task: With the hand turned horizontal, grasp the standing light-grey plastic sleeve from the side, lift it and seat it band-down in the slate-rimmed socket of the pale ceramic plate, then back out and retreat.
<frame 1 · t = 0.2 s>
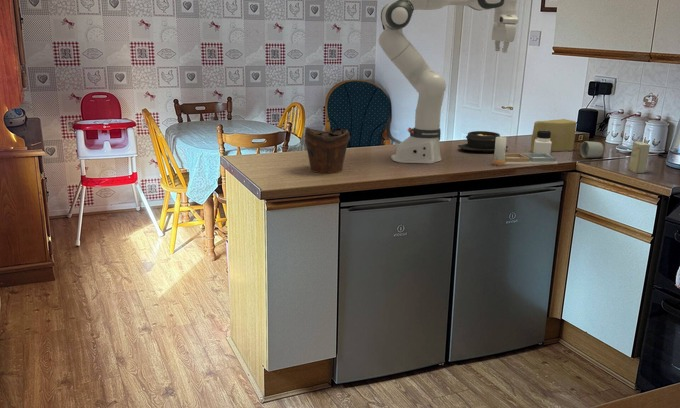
hand: (500, 51, 267), 48 cm above the countertop, tool pointing down, fingers open, 8 cm apart
medicine bottle: (541, 156, 289), on the countertop
seat plate: (525, 160, 277), on the countertop
skincare box: (637, 171, 260), on the countertop
cheese: (549, 151, 301), on the countertop
casserole: (482, 150, 300), on the countertop
ceramic mug: (589, 157, 288), on the countertop
wooden bucket: (327, 170, 255), on the countertop
sleeve: (498, 164, 269), on the countertop
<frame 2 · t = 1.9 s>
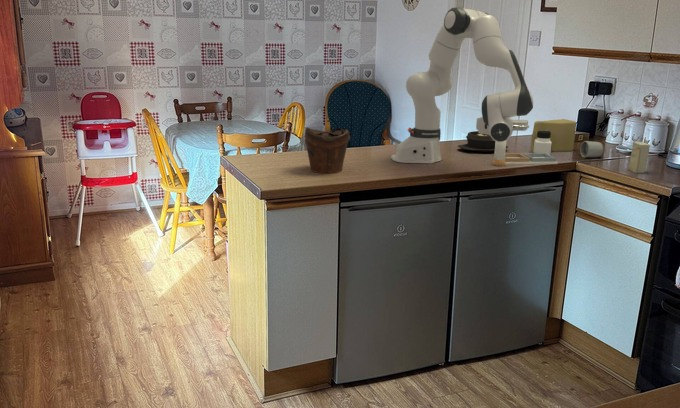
hand: (502, 121, 252), 21 cm above the countertop, tool horizontal, fingers open, 8 cm apart
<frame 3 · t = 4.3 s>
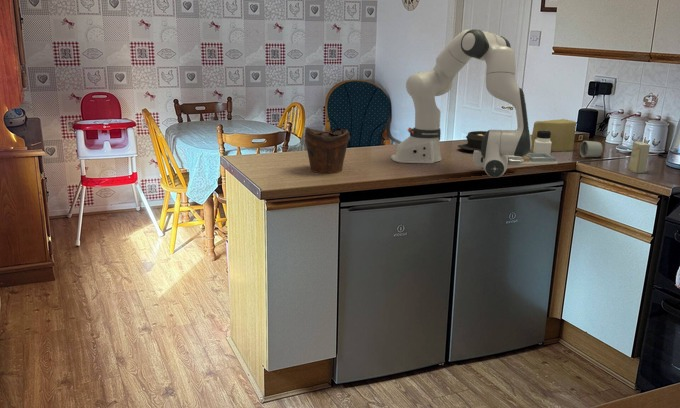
hand: (498, 153, 260), 6 cm above the countertop, tool horizontal, fingers open, 8 cm apart
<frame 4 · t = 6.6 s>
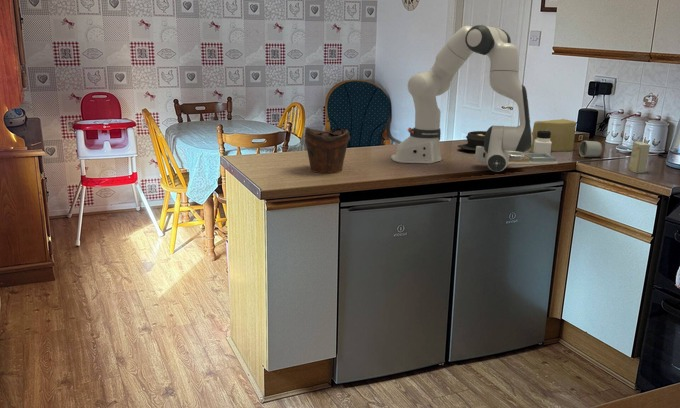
hand: (500, 149, 268), 7 cm above the countertop, tool horizontal, fingers closed on sleeve, 5 cm apart
sleeve: (498, 164, 269), on the countertop, touching gripper
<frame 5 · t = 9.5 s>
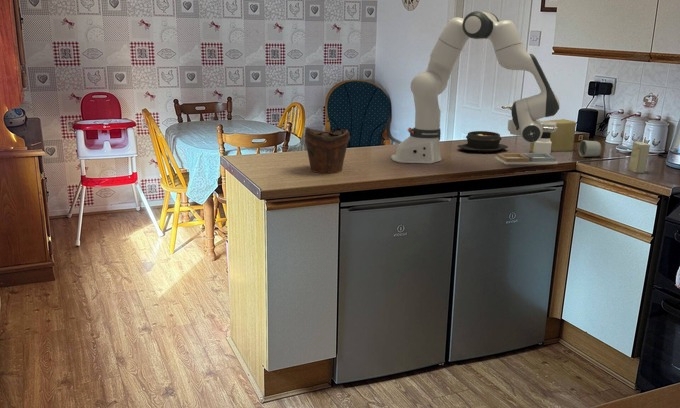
hand: (532, 123, 271), 17 cm above the countertop, tool horizontal, fingers closed on sleeve, 5 cm apart
sleeve: (530, 138, 271), point 11 cm above the countertop, touching gripper
when the fingers open (8 cm above the countertop, at t = 12.5 s): sleeve stays where it is, resting on seat plate.
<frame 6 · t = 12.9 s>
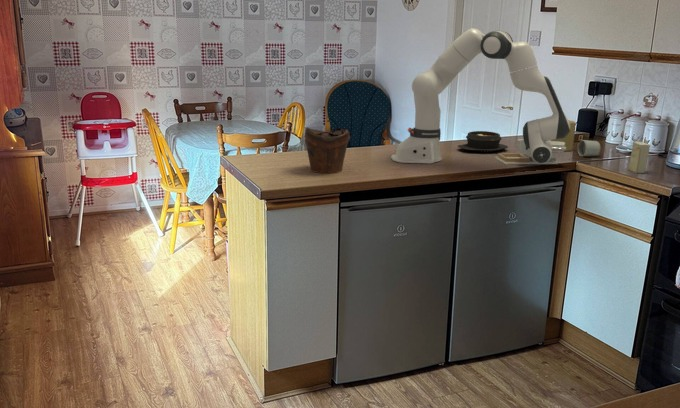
hand: (540, 142, 276), 8 cm above the countertop, tool horizontal, fingers open, 8 cm apart
sleeve: (538, 159, 277), point 1 cm above the countertop, touching seat plate
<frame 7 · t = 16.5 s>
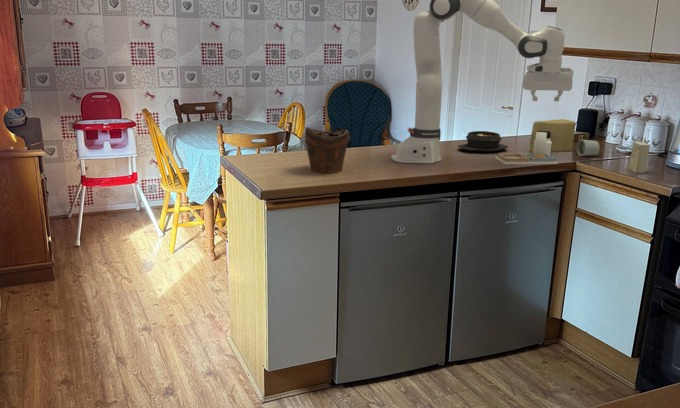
hand: (545, 101, 257), 28 cm above the countertop, tool pointing down, fingers open, 8 cm apart
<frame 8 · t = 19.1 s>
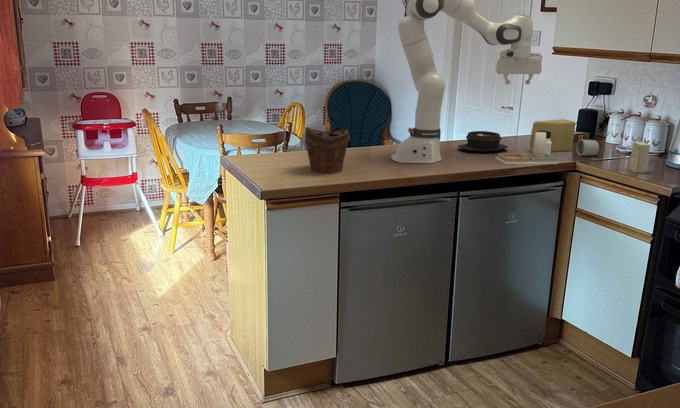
hand: (517, 84, 278), 33 cm above the countertop, tool pointing down, fingers open, 8 cm apart
at the end: sleeve 0.7 cm from the target spot on the seat plate, point 0.9 cm above the seat plate's base; sleeve tilted 2°; the gripper is holding nothing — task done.
